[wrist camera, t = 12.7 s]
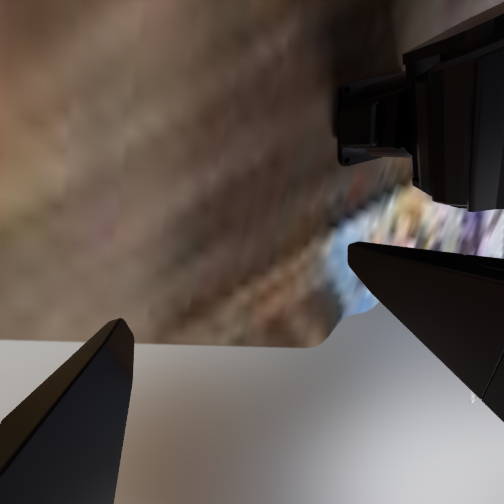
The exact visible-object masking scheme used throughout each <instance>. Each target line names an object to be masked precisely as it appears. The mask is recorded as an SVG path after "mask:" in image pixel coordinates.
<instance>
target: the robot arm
mask: <svg viewBox="0 0 504 504" xmlns="http://www.w3.org/2000/svg"><path fill="white" fill-rule="evenodd" d="M402 55H403V65H404V64H405V67H406V71H404V72H399V73H394V74H389V75H383V76H378V77H373V78H368V79H363V80H358V81H353V82H348V83H345V84H343V85H341V87H340V89H339V114H338V122H339V148H340V164H341V165H342V166H350V165H354V164H358V163H362V162H365V161H369V160H373V159H377V158H381V157H405V158H412V161H413V175H414V177H413V178H412V183H413V186H415V187H417V188H419V189H420V190H422V191H423V192H425V193H427V194H428V195H430V196H432V200H433V201H434V202H437V203H441V204H445V205H450V206H453V207H457V208H467V211H469V212H476V211H484V210H492V209H504V2H503V3H501V4H499V5H497V6H495V7H492V8H490V9H488V10H486V11H484V12H482V13H480V14H478V15H476V16H473V17H471V18H469V19H467V20H465V21H463V22H461V23H460V24H458V25H456V26H454V27H452V28H450V29H448V30H447V31H445V32H443V33H441V34H439V35H437V36H436V37H434V38H432V39H430V40H428V41H426V42H424V43H423V44H421V45H419V46H417V47H415V48H413V49H411V50H410V51H408V52H406V53H404V54H402ZM345 88H346V89H347V93H345V91H344V90H345ZM345 159H347V161H346V163H345ZM348 265H349V267H350V268H351V269H352V270H353V272H354V273H355V274H356V275H357V276H358V278H359V279H360V280H361V281H362V282H363V284H364V285H365V286H366V287H367V288H368V290H369V291H370V292H371V293H372V294H373V295H374V296H375V297H376V298H377V299H378V300H379V301H380V302H381V303H382V304H383V305H384V306H385V307H386V308H387V309H388V310H389V311H390V312H391V313H392V314H393V315H394V316H395V317H396V318H397V319H398V320H400V322H402V323H403V324H404V325H405V326H406V327H407V328H408V329H409V330H410V331H411V332H412V333H413V334H414V335H415V336H416V337H417V338H418V339H419V340H420V341H421V342H422V343H423V344H424V345H425V346H426V347H427V348H428V349H429V350H430V351H431V352H432V353H433V354H434V355H435V356H436V357H438V358H439V359H440V360H441V361H442V362H443V363H444V364H445V365H446V366H447V367H448V368H449V369H450V370H451V371H452V372H453V373H454V374H455V375H456V376H457V377H458V378H459V379H460V380H461V381H462V382H463V383H464V384H465V385H466V386H467V387H468V388H469V389H470V390H471V391H472V392H473V393H474V394H475V395H477V396H478V397H479V398H480V399H482V402H484V403H485V404H486V405H487V406H488V407H489V408H490V409H491V410H492V411H493V412H494V413H495V414H496V415H497V416H498V417H499V418H500V419H501V420H502V421H503V422H504V259H501V258H492V257H483V256H475V255H464V254H458V253H450V252H441V251H433V250H425V249H417V248H408V247H400V246H392V245H384V244H376V243H367V242H355V243H352V244H349V246H348ZM133 362H134V336H133V333H132V332H131V330H130V328H129V327H128V325H127V324H126V322H125V321H124V319H122V318H118V319H115V320H112V321H110V322H108V323H107V324H106V325H105V326H104V327H102V328H101V329H100V330H99V331H98V332H97V333H96V334H95V335H94V336H93V337H92V338H91V339H89V340H88V341H87V342H86V343H85V344H84V345H83V346H82V347H81V348H80V349H79V350H78V351H77V352H75V353H74V354H73V355H72V356H71V357H70V358H69V359H68V360H67V361H66V362H65V363H64V364H62V365H61V366H60V367H59V368H58V369H57V370H56V371H55V372H54V373H53V374H52V375H50V376H49V377H48V378H47V379H46V380H45V381H44V382H43V383H42V384H41V385H40V386H39V387H37V388H36V389H35V390H34V391H33V392H32V393H31V394H30V395H29V396H28V397H27V398H26V399H25V400H23V401H22V402H21V403H20V404H19V405H18V406H17V407H16V408H15V409H14V410H13V411H12V412H10V413H9V414H8V415H7V416H6V417H5V418H4V419H3V420H2V421H1V424H0V504H114V498H115V491H116V485H117V479H118V472H119V466H120V459H121V452H122V447H123V440H124V434H125V427H126V421H127V414H128V408H129V402H130V395H131V389H132V381H133Z"/></svg>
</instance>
